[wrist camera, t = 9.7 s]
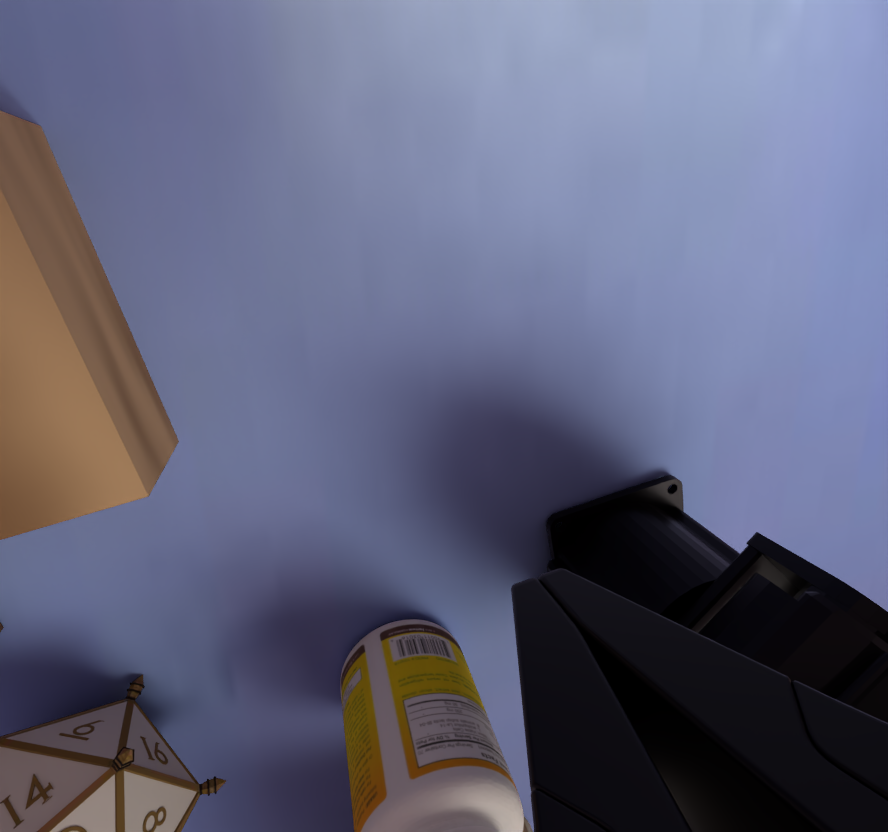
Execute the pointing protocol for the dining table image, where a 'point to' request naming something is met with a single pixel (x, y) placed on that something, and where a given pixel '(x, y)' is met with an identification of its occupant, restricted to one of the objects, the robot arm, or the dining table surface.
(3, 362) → the oak block
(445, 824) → the supplement bottle
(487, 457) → the dining table surface
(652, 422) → the dining table surface
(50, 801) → the game die
